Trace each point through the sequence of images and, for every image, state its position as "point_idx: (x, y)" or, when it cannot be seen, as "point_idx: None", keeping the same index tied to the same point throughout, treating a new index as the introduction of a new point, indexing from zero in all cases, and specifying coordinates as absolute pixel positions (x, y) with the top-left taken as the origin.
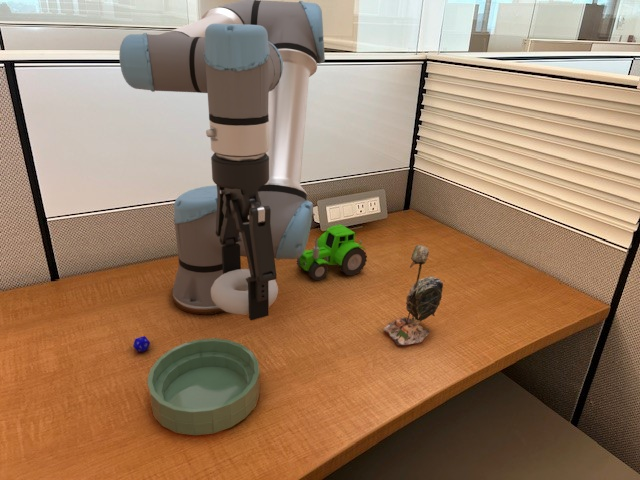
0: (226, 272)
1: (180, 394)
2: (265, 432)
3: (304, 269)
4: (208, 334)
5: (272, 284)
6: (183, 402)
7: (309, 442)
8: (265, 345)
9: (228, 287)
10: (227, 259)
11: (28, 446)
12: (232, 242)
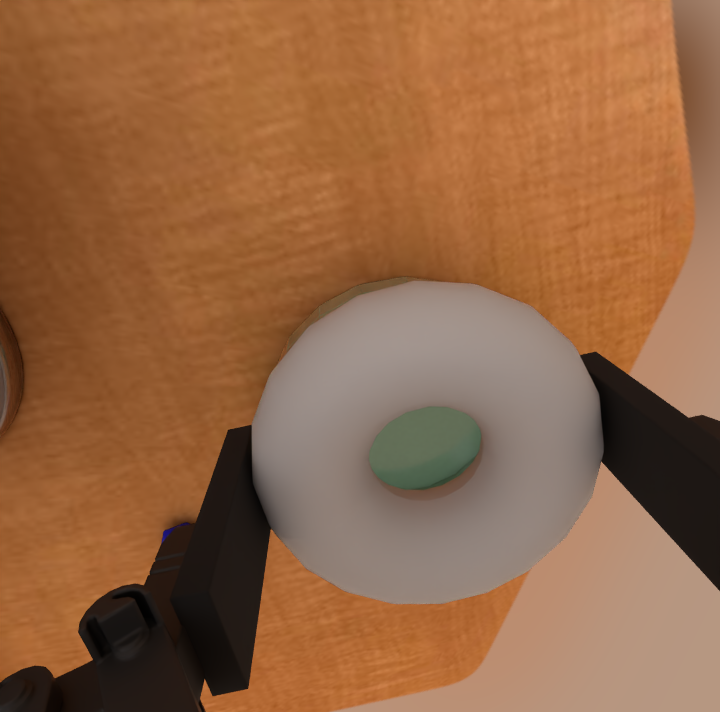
0: (265, 537)
1: (385, 458)
2: (558, 288)
3: None
4: (135, 378)
5: (511, 340)
6: (413, 453)
7: (630, 191)
8: (220, 217)
9: (474, 559)
10: (252, 592)
11: (427, 667)
12: (183, 651)
